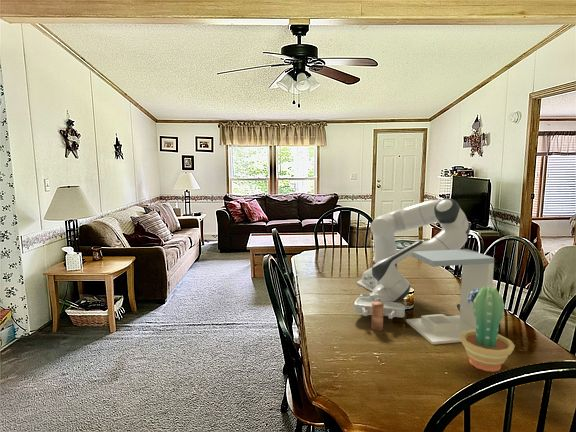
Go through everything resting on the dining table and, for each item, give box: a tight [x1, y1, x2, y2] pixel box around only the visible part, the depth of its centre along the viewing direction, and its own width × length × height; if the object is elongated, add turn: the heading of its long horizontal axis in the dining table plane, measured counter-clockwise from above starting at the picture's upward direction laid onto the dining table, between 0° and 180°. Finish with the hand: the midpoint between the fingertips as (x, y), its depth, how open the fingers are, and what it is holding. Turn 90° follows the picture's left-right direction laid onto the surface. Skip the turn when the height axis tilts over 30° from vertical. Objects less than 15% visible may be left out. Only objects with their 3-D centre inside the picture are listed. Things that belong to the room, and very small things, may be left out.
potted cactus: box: [460, 286, 516, 372], centre depth 117 cm, size 15×15×25 cm
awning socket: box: [405, 248, 495, 345], centre depth 141 cm, size 20×24×30 cm
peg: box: [370, 302, 384, 332], centre depth 145 cm, size 4×4×10 cm
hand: (377, 315), depth 144 cm, fingers open, 8 cm apart
